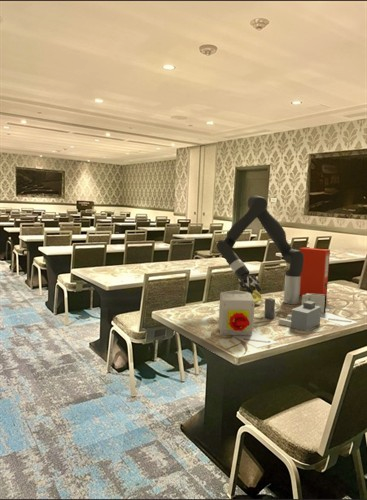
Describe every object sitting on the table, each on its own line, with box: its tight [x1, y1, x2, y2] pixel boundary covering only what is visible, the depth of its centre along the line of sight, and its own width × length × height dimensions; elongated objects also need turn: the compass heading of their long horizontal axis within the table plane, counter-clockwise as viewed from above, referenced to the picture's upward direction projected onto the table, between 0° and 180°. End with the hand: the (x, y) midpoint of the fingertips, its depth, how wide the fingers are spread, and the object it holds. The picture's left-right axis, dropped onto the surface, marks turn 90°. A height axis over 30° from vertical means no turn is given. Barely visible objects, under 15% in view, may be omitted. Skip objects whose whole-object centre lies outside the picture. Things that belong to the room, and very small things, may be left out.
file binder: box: [298, 247, 331, 297], centre depth 243 cm, size 8×17×32 cm, turn 48°
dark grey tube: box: [263, 297, 276, 320], centre depth 195 cm, size 5×5×11 cm
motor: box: [278, 301, 322, 332], centre depth 187 cm, size 20×15×11 cm
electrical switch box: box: [218, 289, 255, 336], centre depth 168 cm, size 15×15×20 cm
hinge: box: [301, 293, 328, 314], centre depth 208 cm, size 14×5×10 cm, turn 87°
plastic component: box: [251, 289, 263, 306], centre depth 221 cm, size 20×7×10 cm
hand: (256, 292), depth 200 cm, fingers open, 8 cm apart
